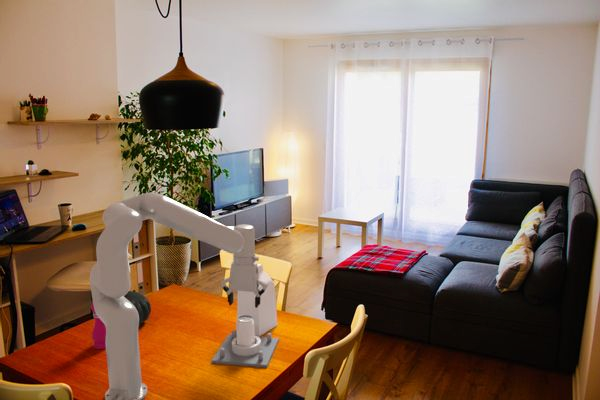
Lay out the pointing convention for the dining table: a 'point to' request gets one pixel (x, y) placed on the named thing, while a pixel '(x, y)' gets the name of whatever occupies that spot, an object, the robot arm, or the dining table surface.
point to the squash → (139, 304)
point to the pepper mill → (98, 331)
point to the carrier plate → (246, 359)
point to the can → (245, 331)
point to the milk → (265, 311)
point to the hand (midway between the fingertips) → (244, 305)
